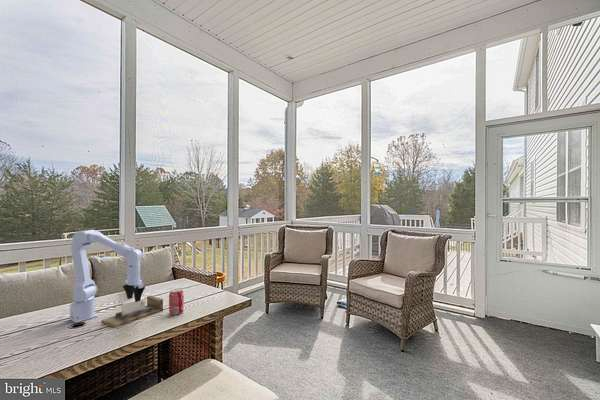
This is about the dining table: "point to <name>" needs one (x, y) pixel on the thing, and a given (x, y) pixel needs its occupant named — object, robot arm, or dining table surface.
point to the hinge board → (136, 313)
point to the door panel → (133, 306)
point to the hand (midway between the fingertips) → (133, 299)
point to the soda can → (176, 301)
